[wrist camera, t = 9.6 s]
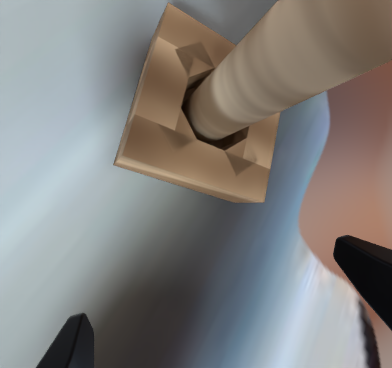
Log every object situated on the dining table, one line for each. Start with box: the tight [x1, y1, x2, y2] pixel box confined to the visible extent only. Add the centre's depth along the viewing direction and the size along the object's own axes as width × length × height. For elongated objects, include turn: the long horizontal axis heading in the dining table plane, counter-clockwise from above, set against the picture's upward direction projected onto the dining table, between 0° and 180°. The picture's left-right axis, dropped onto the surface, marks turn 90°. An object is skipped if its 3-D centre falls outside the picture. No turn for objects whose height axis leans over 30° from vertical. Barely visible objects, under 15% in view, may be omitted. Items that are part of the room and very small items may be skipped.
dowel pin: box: [181, 0, 392, 144], centre depth 14 cm, size 4×4×14 cm
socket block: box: [113, 3, 280, 203], centre depth 19 cm, size 11×11×4 cm
